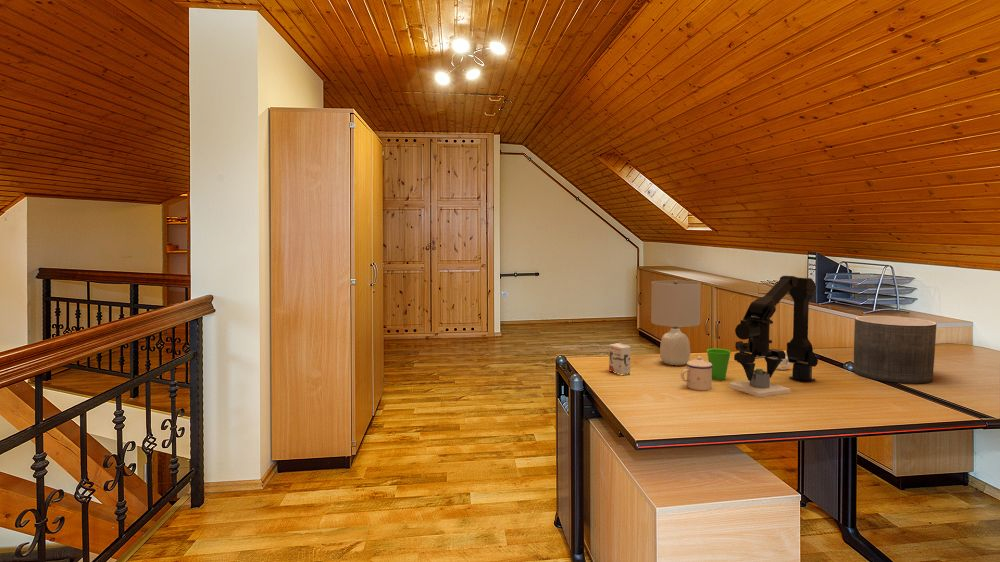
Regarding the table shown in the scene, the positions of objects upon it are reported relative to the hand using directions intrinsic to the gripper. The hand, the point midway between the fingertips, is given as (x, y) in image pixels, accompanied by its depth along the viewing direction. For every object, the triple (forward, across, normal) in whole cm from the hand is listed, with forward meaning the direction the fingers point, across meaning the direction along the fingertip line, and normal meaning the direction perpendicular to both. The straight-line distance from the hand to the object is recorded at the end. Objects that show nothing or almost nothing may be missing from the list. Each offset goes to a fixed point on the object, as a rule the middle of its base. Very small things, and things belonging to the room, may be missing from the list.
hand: (759, 379), depth 187 cm
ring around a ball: (+4, -32, -19) cm, 37 cm away
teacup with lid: (+4, +19, -11) cm, 22 cm away
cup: (+4, +2, -18) cm, 19 cm away
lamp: (+4, +2, -44) cm, 44 cm away
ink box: (+4, +33, -40) cm, 52 cm away
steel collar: (+2, 0, 0) cm, 3 cm away
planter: (+4, -63, +5) cm, 63 cm away
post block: (+4, 0, 0) cm, 4 cm away
